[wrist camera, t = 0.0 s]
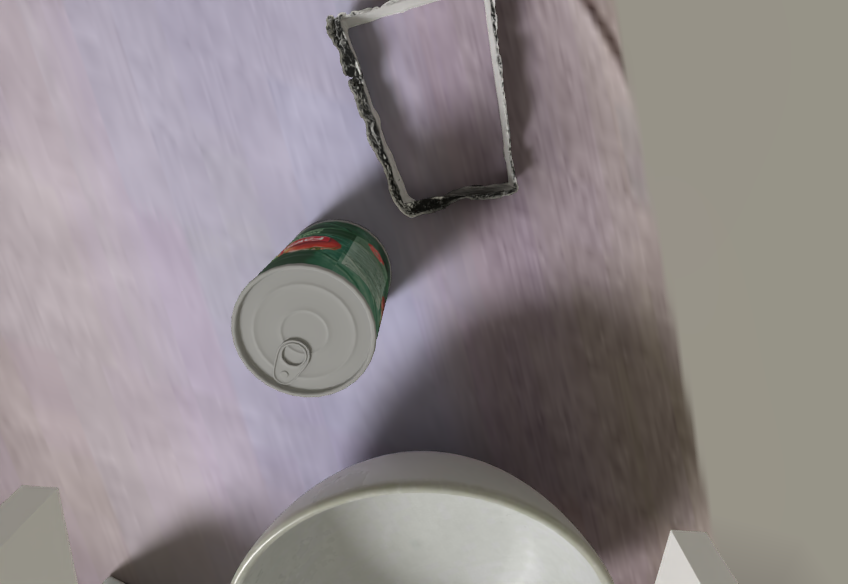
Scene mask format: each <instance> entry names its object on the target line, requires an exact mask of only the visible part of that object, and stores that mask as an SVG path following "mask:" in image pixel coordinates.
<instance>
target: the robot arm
mask: <svg viewBox="0 0 848 584" xmlns="http://www.w3.org/2000/svg"><path fill="white" fill-rule="evenodd" d="M0 584H78V583H77V578H76V573H75V568H74V563H73V558H72V553H71V548H70V544H69V539H68V534H67V529H66V524H65V519H64V514H63V509H62V504H61V500H60V495H59V490H58V488H54V487H40V486H25V485H22V486H21V487H20V488H19V489H17V490H16V491H15V492H14V493H13V494H12V495H11V496H10V497H9V498H8V499H7V500H6V501H5V502H3V503H2V504H1V505H0ZM655 584H739V583H738V582H737V580H736V579H735V577H734V576H733V574H732V572H731V571H730V569H729V568H728V566H727V565H726V563H725V561H724V560H723V558H722V556H721V555H720V553H719V552H718V550H717V549H716V547H715V545H714V544H713V542H712V541H711V539H710V538H709V536H708V534H707V533H706V532H694V531H679V530H671V531H670V534H669V538H668V541H667V545H666V548H665V551H664V555H663V558H662V562H661V565H660V569H659V572H658V575H657V579H656V582H655Z"/></svg>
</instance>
